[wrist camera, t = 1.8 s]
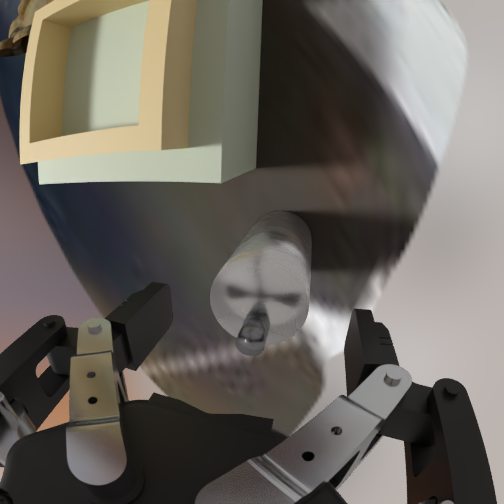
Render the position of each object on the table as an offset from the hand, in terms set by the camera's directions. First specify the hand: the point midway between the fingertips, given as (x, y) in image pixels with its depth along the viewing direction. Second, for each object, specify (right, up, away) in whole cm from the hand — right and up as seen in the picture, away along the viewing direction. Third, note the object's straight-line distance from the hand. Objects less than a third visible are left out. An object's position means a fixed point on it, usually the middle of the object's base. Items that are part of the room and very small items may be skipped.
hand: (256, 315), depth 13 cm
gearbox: (-7, +16, +6) cm, 18 cm away
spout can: (+2, +3, +9) cm, 10 cm away
